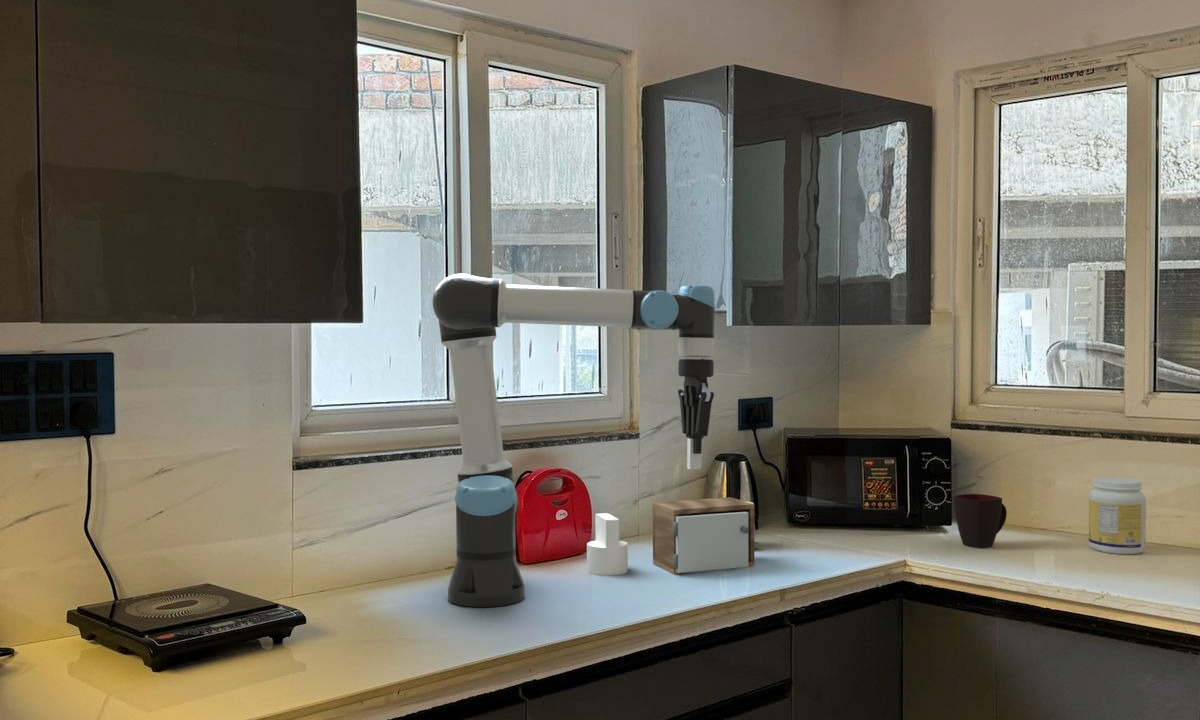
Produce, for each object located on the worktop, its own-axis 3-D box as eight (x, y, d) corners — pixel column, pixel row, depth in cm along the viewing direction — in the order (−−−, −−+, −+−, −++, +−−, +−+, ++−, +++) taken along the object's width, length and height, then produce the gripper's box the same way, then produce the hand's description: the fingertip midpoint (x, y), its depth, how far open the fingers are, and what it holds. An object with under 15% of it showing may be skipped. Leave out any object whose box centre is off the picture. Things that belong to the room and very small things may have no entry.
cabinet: (674, 574, 218) (673, 510, 218) (653, 563, 228) (652, 502, 228) (754, 566, 225) (754, 504, 225) (730, 556, 236) (730, 497, 235)
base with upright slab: (633, 573, 219) (632, 518, 219) (593, 576, 216) (593, 521, 216) (620, 565, 228) (620, 512, 227) (582, 567, 225) (582, 514, 225)
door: (677, 574, 215) (677, 518, 215) (672, 572, 218) (672, 516, 217) (751, 567, 221) (751, 513, 221) (745, 565, 224) (745, 511, 223)
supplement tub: (1098, 542, 250) (1098, 475, 249) (1152, 549, 241) (1152, 479, 241) (1081, 550, 241) (1081, 480, 241) (1136, 557, 232) (1136, 485, 232)
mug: (947, 544, 249) (947, 495, 249) (987, 538, 255) (987, 491, 255) (979, 551, 240) (979, 501, 240) (1019, 545, 246) (1019, 497, 246)
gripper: (725, 359, 209) (723, 472, 209) (698, 357, 221) (696, 464, 222) (693, 358, 207) (691, 473, 207) (667, 357, 219) (665, 465, 219)
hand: (694, 468), depth 214 cm, fingers closed
